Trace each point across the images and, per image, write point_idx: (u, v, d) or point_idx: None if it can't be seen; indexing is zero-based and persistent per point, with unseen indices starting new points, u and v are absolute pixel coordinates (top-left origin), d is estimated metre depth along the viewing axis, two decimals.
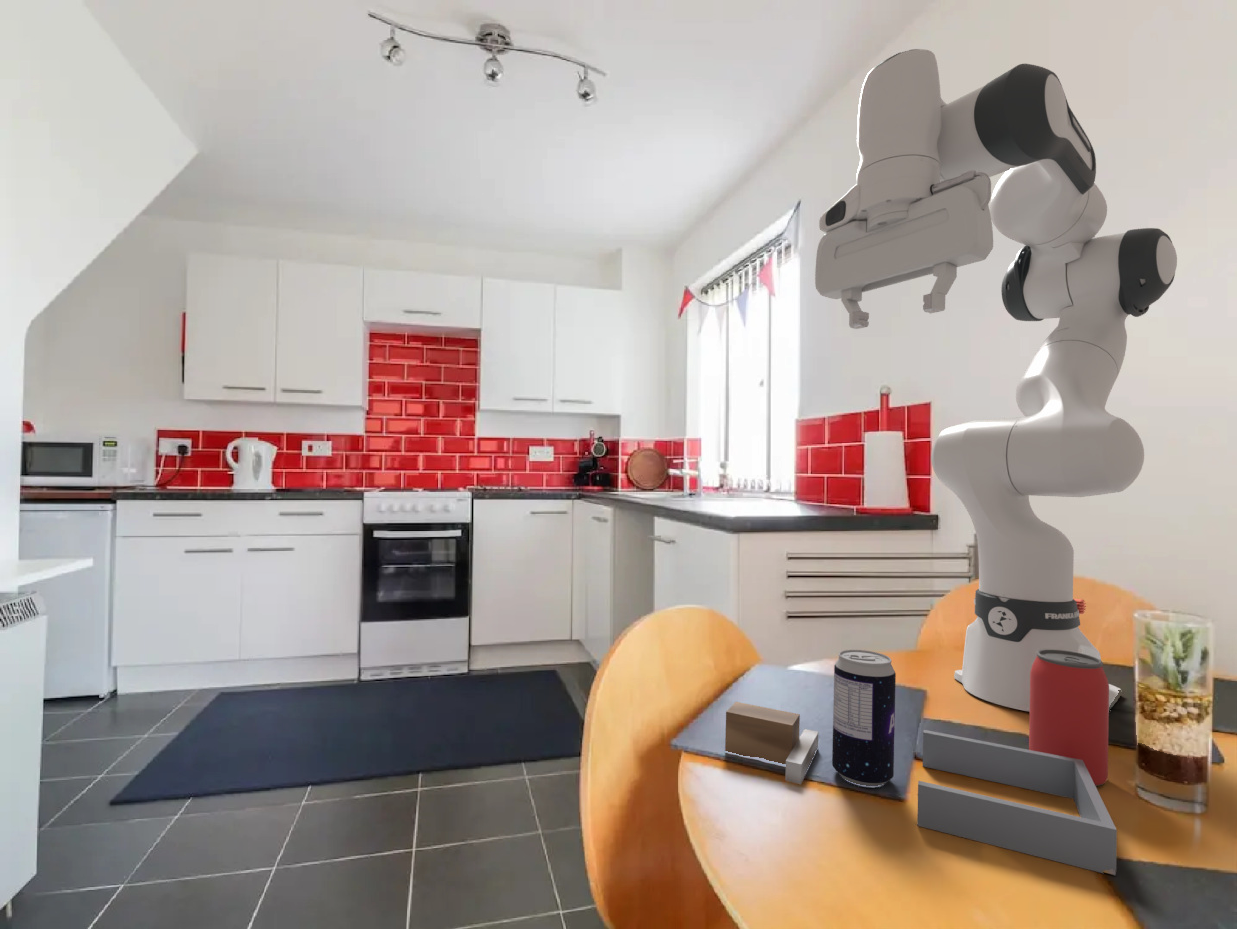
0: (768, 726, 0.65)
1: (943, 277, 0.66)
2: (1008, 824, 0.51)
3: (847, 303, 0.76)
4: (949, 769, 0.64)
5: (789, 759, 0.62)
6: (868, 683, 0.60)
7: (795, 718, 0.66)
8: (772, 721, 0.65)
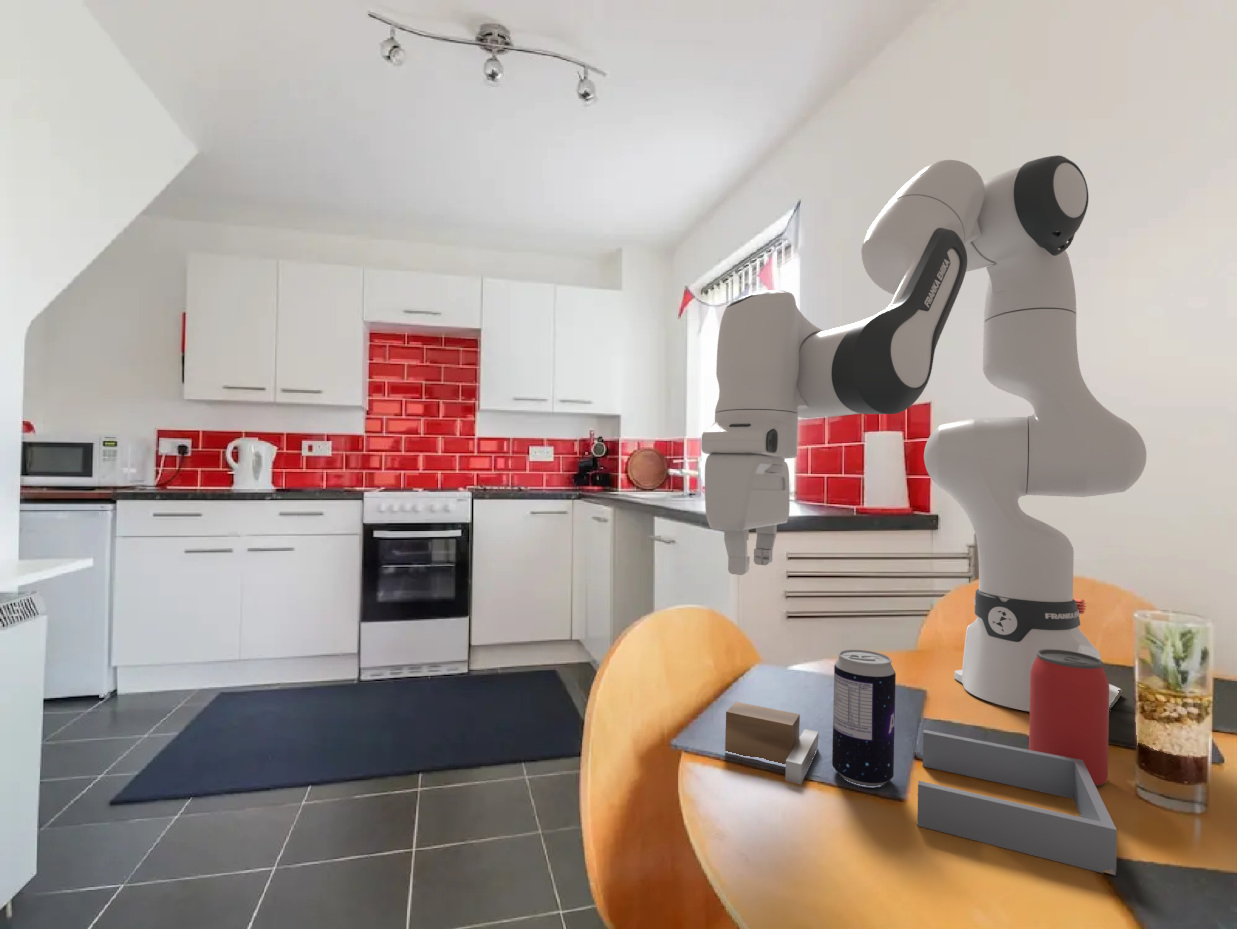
0: (768, 726, 0.65)
1: (775, 537, 0.73)
2: (1008, 824, 0.51)
3: (746, 545, 0.63)
4: (949, 769, 0.64)
5: (789, 759, 0.62)
6: (868, 683, 0.60)
7: (795, 718, 0.66)
8: (772, 721, 0.65)
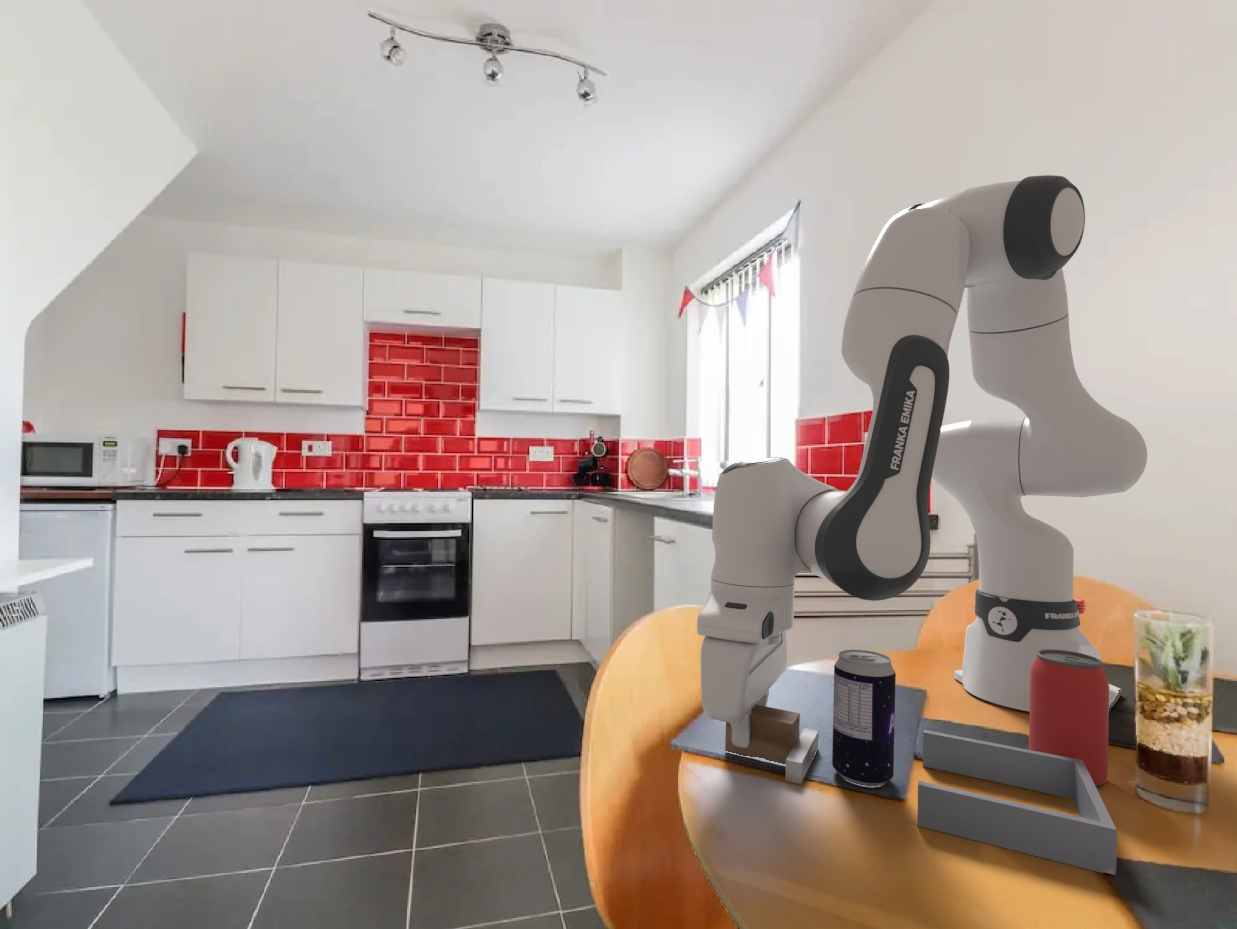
0: (768, 725, 0.65)
1: (767, 697, 0.71)
2: (1008, 824, 0.51)
3: (749, 720, 0.64)
4: (949, 769, 0.64)
5: (789, 757, 0.62)
6: (868, 683, 0.60)
7: (795, 717, 0.66)
8: (772, 719, 0.65)
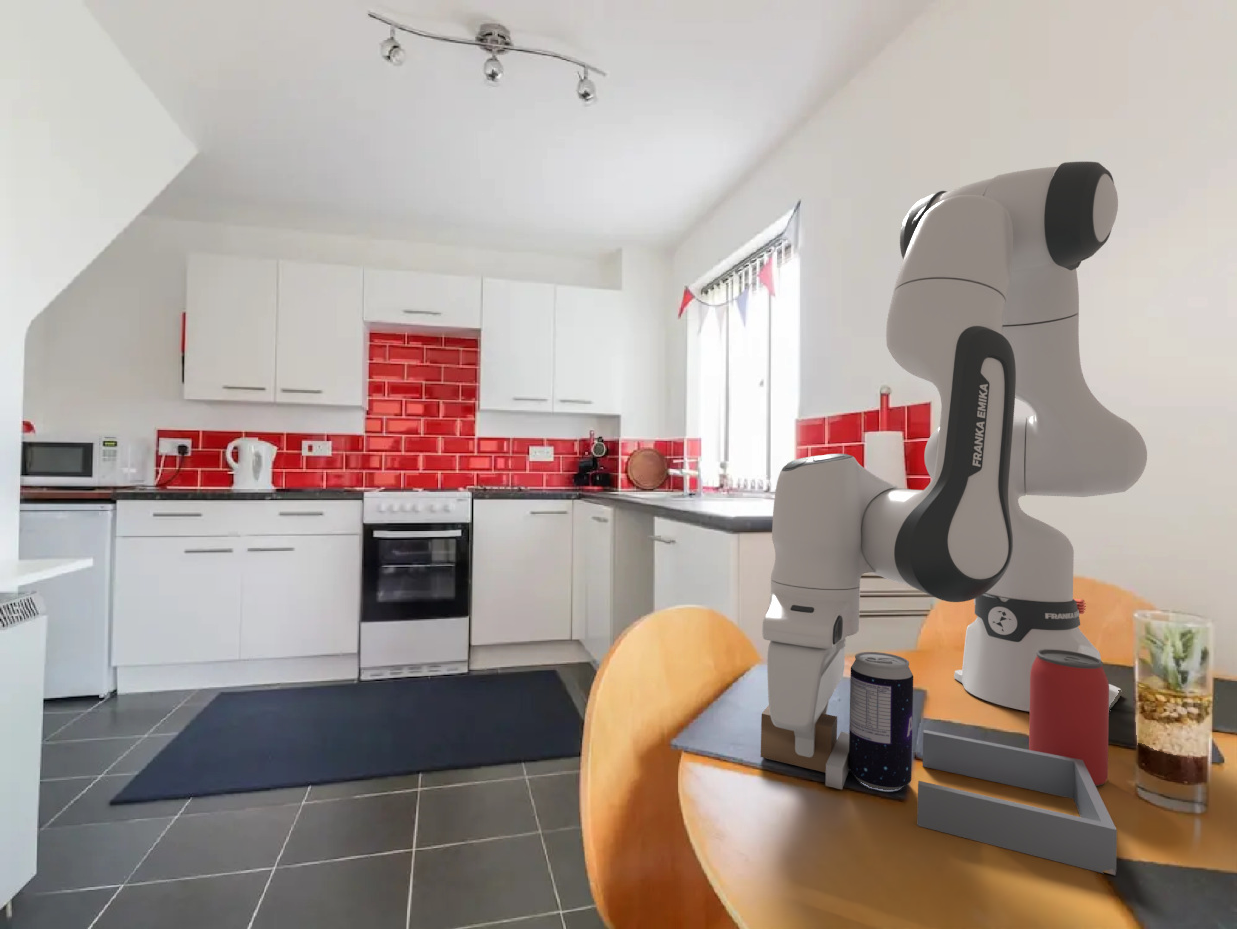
0: None
1: (827, 704, 0.68)
2: (1008, 824, 0.51)
3: (814, 728, 0.61)
4: (949, 769, 0.64)
5: (829, 762, 0.60)
6: (886, 686, 0.59)
7: (833, 720, 0.64)
8: None
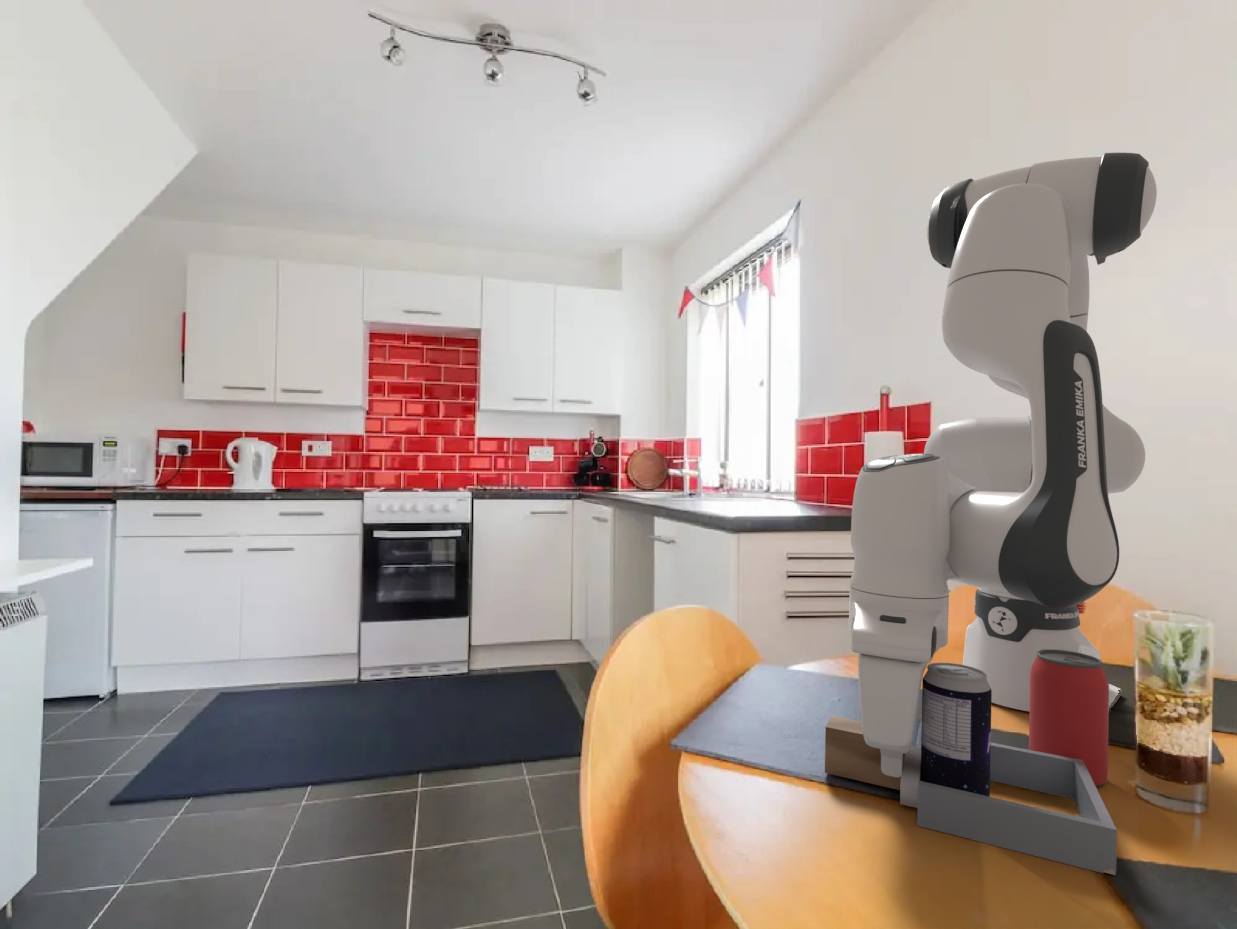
0: None
1: None
2: (1008, 824, 0.51)
3: None
4: None
5: (903, 779, 0.57)
6: (966, 700, 0.56)
7: None
8: None
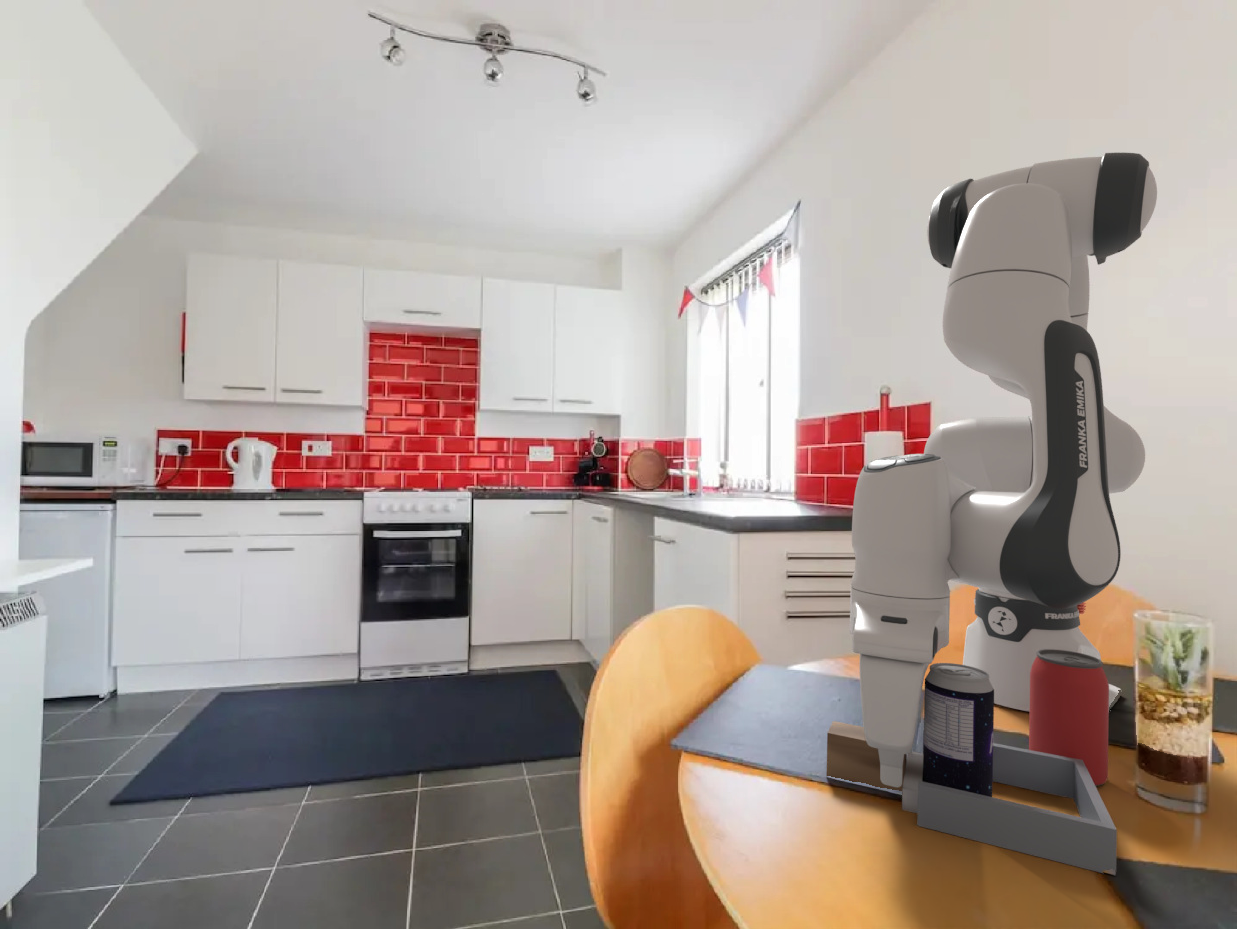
0: (876, 749, 0.60)
1: None
2: (1008, 824, 0.51)
3: (903, 756, 0.56)
4: None
5: (905, 786, 0.57)
6: (968, 701, 0.56)
7: None
8: None
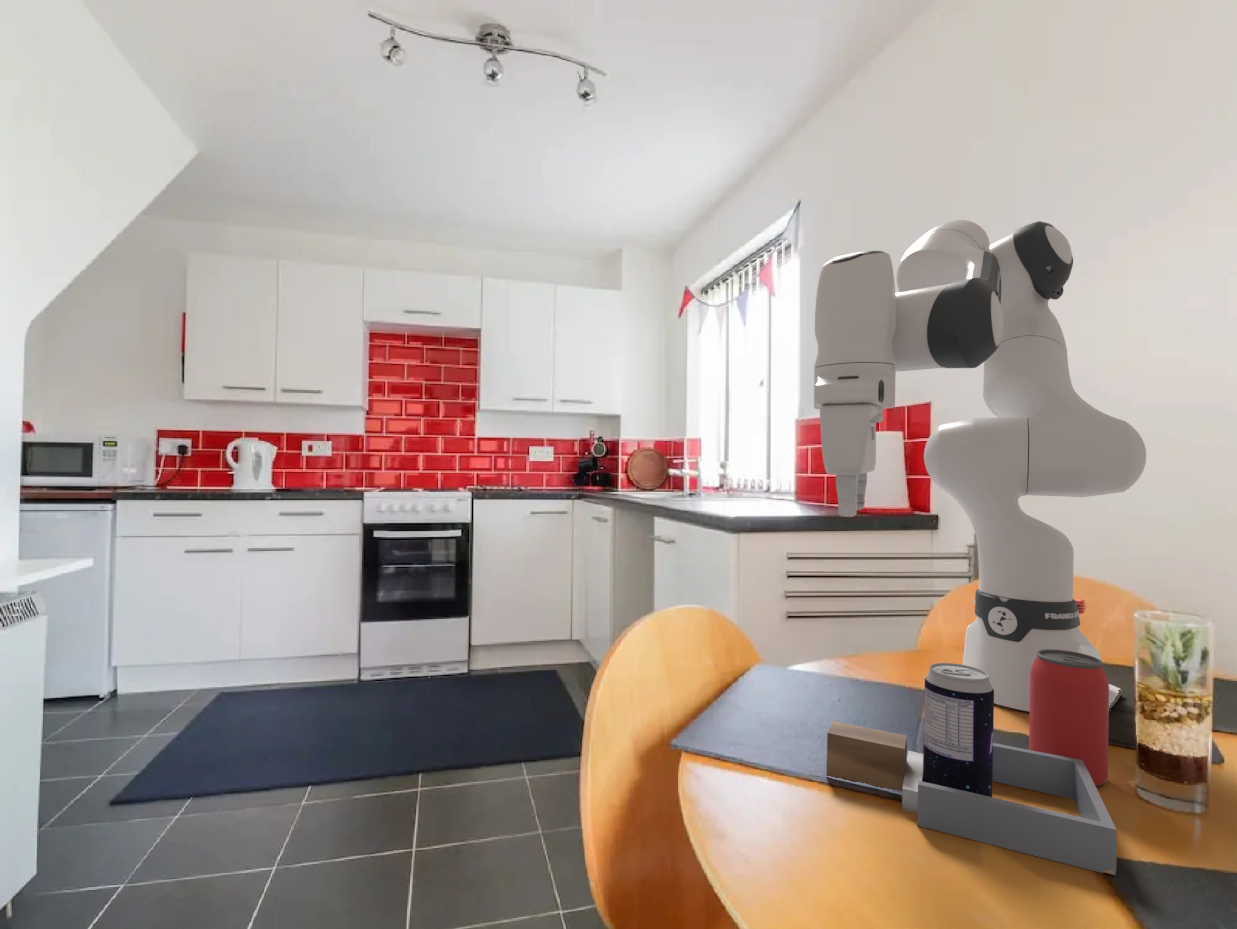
0: (876, 749, 0.60)
1: (866, 483, 0.78)
2: (1008, 824, 0.51)
3: (856, 489, 0.67)
4: None
5: (905, 786, 0.57)
6: (968, 700, 0.56)
7: (904, 740, 0.61)
8: (880, 743, 0.60)
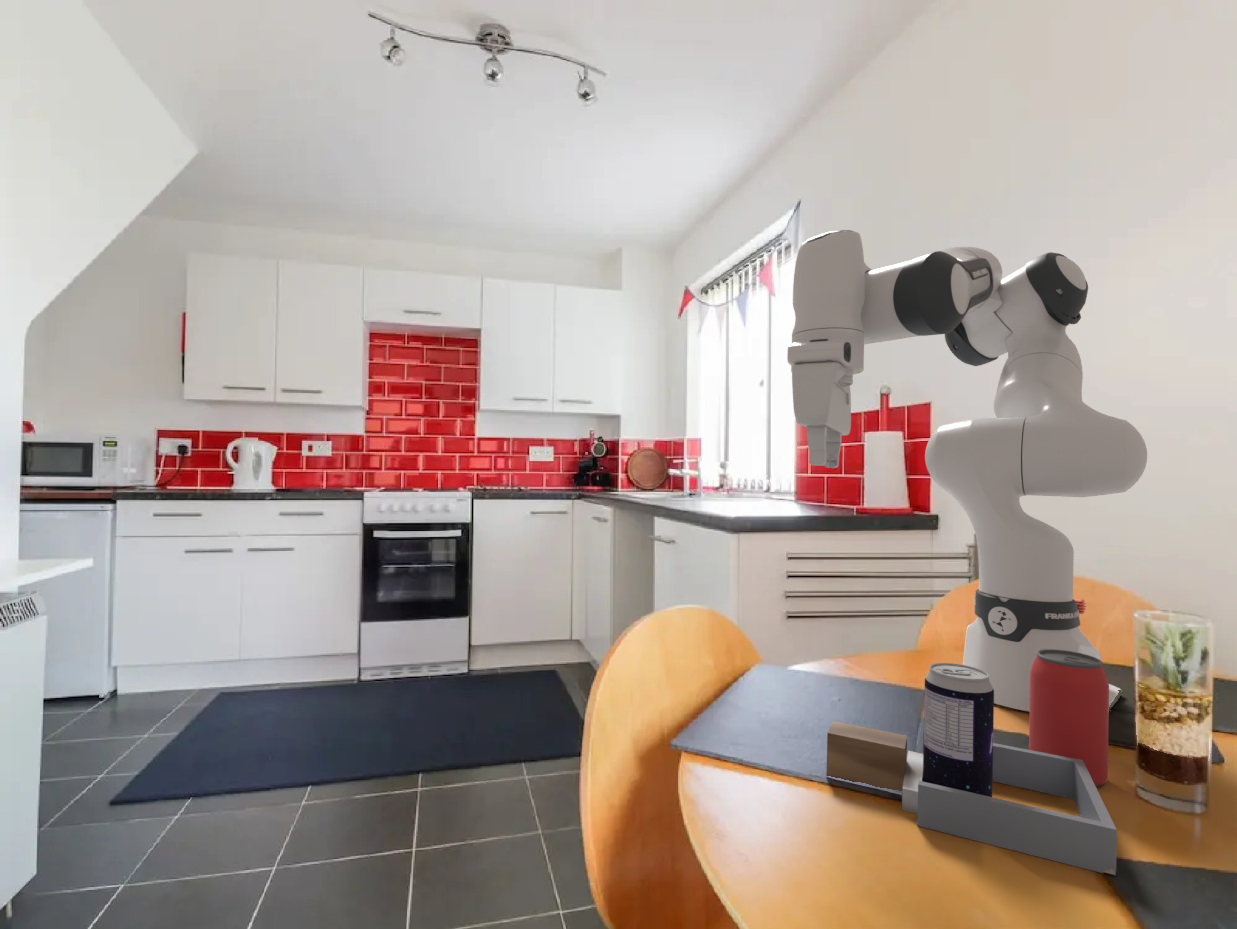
0: (876, 749, 0.60)
1: (840, 445, 0.85)
2: (1008, 824, 0.51)
3: (825, 440, 0.75)
4: None
5: (905, 786, 0.57)
6: (968, 700, 0.56)
7: (904, 740, 0.61)
8: (880, 743, 0.60)
